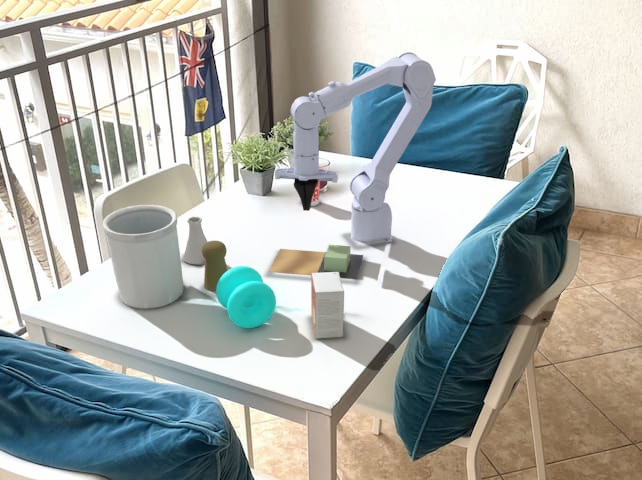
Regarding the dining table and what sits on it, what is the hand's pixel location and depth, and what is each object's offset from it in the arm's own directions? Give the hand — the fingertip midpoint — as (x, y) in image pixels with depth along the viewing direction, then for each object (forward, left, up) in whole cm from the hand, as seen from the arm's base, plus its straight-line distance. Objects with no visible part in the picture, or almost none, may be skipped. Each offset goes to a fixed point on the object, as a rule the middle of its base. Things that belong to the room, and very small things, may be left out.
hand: (306, 209), depth 165 cm
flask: (+26, -2, -10) cm, 28 cm away
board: (+2, +12, -9) cm, 15 cm away
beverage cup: (-10, -25, -10) cm, 28 cm away
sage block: (-2, +14, -8) cm, 17 cm away
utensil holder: (+40, +11, -10) cm, 42 cm away
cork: (+26, +14, -10) cm, 31 cm away
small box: (+8, +37, -10) cm, 39 cm away
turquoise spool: (+22, +28, -10) cm, 37 cm away
